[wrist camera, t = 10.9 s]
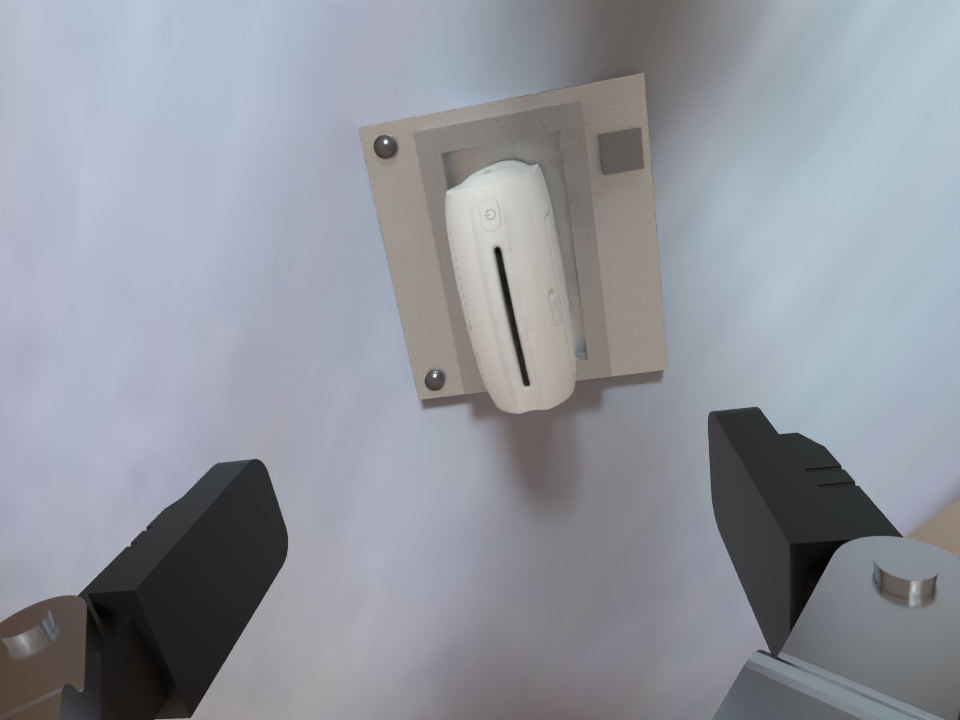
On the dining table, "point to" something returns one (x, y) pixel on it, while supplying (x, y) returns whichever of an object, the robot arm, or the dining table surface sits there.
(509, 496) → the dining table surface
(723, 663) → the dining table surface
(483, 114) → the plate
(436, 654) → the dining table surface
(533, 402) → the photo printer
